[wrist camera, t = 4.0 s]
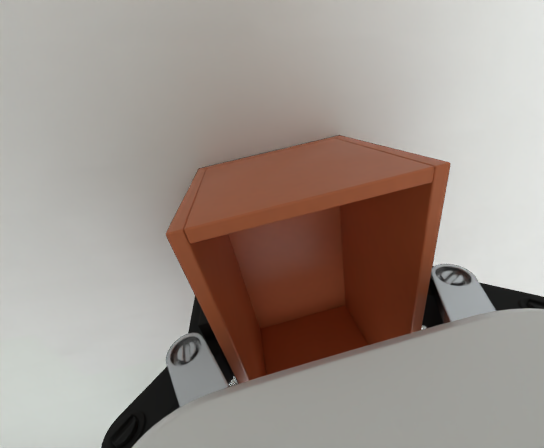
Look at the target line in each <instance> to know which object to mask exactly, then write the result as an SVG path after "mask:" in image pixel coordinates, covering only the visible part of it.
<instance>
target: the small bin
mask: <svg viewBox="0 0 544 448" xmlns="http://www.w3.org/2000/svg"><path fill="white" fill-rule="evenodd" d="M449 169H450V163H449V162H445V161H441V160H437V159H433V158H429V157H425V156H421V155H417V154H413V153H409V152H405V151H401V150H397V149H393V148H389V147H385V146H381V145H377V144H373V143H369V142H365V141H361V140H356V139H352V138H348V137H344V136H340V135H339V136H335V137H330V138H326V139H322V140H318V141H313V142H309V143H305V144H301V145H296V146H292V147H288V148H284V149H280V150H275V151H271V152H267V153H263V154H258V155H254V156H250V157H246V158H242V159H237V160H233V161H229V162H225V163H220V164H216V165H212V166H208V167H203V168H199V169H198V171H197V173H196V175H195V177H194V179H193V181H192V183H191V185H190V187H189V189H188V191H187V193H186V195H185V197H184V199H183V201H182V202H181V204H180V206H179V208H178V210H177V212H176V214H175V216H174V218H173V220H172V222H171V224H170V226H169V228H168V230H167V232H166V237H167V239H168V241H169V243H170V245H171V247H172V249H173V251H174V253H175V255H176V257H177V259H178V261H179V263H180V265H181V267H182V269H183V271H184V273H185V275H186V277H187V279H188V282H189V284H190V286H191V288H192V290H193V292H194V294H195V296H196V298H197V300H198V302H199V304H200V306H201V308H202V310H203V312H204V314H205V316H206V318H207V320H208V322H209V324H210V326H211V328H212V330H213V333H214V335H215V337H216V339H217V341H218V343H219V345H220V347H221V349H222V351H223V353H224V355H225V357H226V359H227V361H228V363H229V365H230V367H231V369H232V371H233V373H234V375H235V377H236V379H237V381H238V383H239V384H240V383H243V382H246V381H249V380H252V379H255V378H259V377H262V376H265V375H269V374H272V373H275V372H279V371H282V370H285V369H289V368H292V367H295V366H299V365H302V364H306V363H309V362H312V361H316V360H319V359H323V358H326V357H329V356H333V355H336V354H340V353H343V352H347V351H350V350H353V349H357V348H360V347H364V346H367V345H371V344H374V343H378V342H381V341H384V340H388V339H391V338H395V337H398V336H402V335H405V334H409V333H413V332H416V331H420V330H421V327H422V322H423V316H424V310H425V305H426V299H427V293H428V288H429V282H430V277H431V271H432V265H433V260H434V254H435V248H436V243H437V237H438V231H439V226H440V220H441V215H442V209H443V203H444V198H445V192H446V186H447V181H448V175H449Z"/></svg>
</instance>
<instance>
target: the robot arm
mask: <svg viewBox="0 0 544 448" xmlns="http://www.w3.org/2000/svg"><path fill="white" fill-rule="evenodd" d="M422 327H423V330H420V331H416V332H413V333H409V334H405V335H402V336H398V337H395V338H391V339H388V340H384V341H381V342H378V343H374V344H371V345H367V346H364V347H360V348H357V349H353V350H350V351H347V352H343V353H340V354H336V355H333V356H329V357H326V358H323V359H319V360H316V361H312V362H309V363H306V364H302V365H299V366H295V367H292V368H289V369H285V370H282V371H279V372H275V373H272V374H269V375H265V376H262V377H259V378H255V379H252V380H249V381H246V382H243V383H240V384H236V385H233V386H229V385H228V384H229V383H230V381H231V380H232V379H233V376H235V375H234V373H233V371H232V369H231V367H230V365H229V363H228V361H227V359H226V357H225V355H224V353H223V351H222V349H221V347H220V345H219V343H218V341H217V339H216V337H215V335H214V333H213V330H212V328H211V326H210V324H209V322H208V320H207V318H206V316H205V314H204V312H203V310H202V308H201V306H200V304H199V302H198V300H197V298H196V296H195V300H194V305H193V311H192V316H191V321H190V327H189V332H188V334H186V335H184V336H182V337H180V338H179V339H178V340H176V341H175V342H174V343H173V345H172V346H171V347H170V349H169V351H168V353H167V356H166V364H167V367H166V368H165V369H164V370H163V371H162V372H161V373H160V374H159V375H158V376H157V377H156V379H155V380H154V381H153V382H152V383H151V384H150V385H149V386H148V387H147V388H146V389H145V390H144V391H143V392H142V393H141V394H140V395H139V396H138V397H137V398H136V399H135V400H134V401H133V402H132V403H131V404H130V405H129V406H128V407H127V408H126V409H125V411H124V412H123V413H122V414H121V415H120V416H119V417H118V418H117V419H116V420H115V421H114V423H113V424H112V425H111V426H110V428H109V430H108V431H107V433H106V435H105V437H104V440H103V443H102V448H544V297H541V296H538V295H533V294H529V293H524V292H519V291H515V290H510V289H506V288H501V287H497V286H492V285H488V284H483V283H479V282H478V280H477V279H476V277H475V276H474V275H473V273H472V272H470V271H469V270H467V269H465V268H463V267H461V266H457V265H453V264H439V265H436V266H432V271H431V277H430V282H429V288H428V293H427V299H426V305H425V310H424V316H423V322H422Z"/></svg>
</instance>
